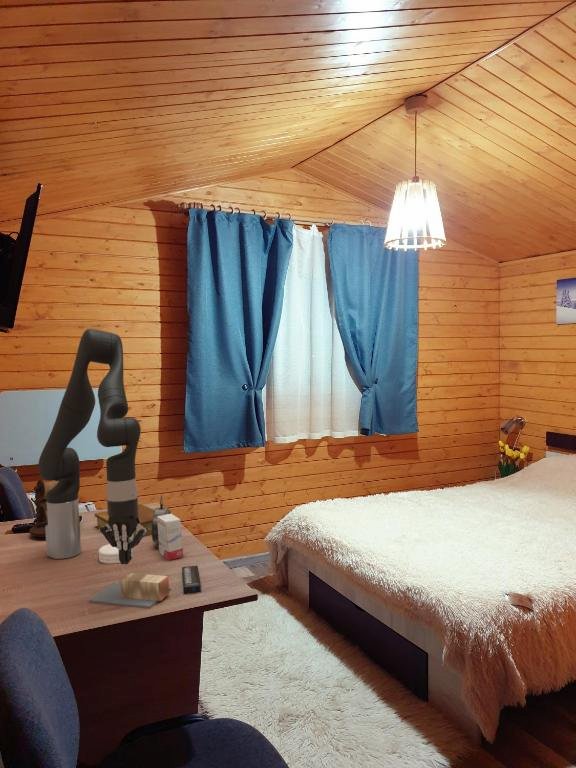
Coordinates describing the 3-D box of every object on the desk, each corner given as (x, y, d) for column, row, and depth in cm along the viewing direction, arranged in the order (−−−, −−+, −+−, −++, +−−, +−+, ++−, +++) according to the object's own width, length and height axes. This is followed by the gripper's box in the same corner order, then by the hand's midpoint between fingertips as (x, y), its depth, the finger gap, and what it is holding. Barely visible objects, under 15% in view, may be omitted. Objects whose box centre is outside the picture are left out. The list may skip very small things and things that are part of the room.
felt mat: (89, 602, 145) (89, 600, 145) (113, 584, 156) (113, 583, 156) (149, 608, 140) (149, 606, 140) (170, 589, 151) (170, 588, 151)
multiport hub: (198, 573, 163) (197, 565, 163) (201, 593, 149) (200, 585, 149) (182, 574, 162) (181, 566, 162) (183, 595, 148) (183, 587, 148)
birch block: (120, 579, 146) (159, 583, 143) (130, 573, 150) (168, 576, 147) (121, 597, 146) (160, 600, 143) (130, 589, 150) (169, 593, 148)
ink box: (183, 557, 175) (182, 519, 174) (167, 561, 172) (165, 522, 171) (173, 549, 182) (172, 512, 181) (158, 553, 179) (156, 515, 179)
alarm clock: (158, 539, 193) (155, 491, 192) (174, 538, 193) (172, 490, 192) (151, 550, 182) (149, 500, 181) (168, 550, 182) (166, 499, 181)
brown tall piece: (62, 525, 213) (59, 471, 212) (83, 532, 203) (80, 476, 202) (22, 535, 202) (18, 479, 201) (42, 544, 192) (38, 484, 191)
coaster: (93, 565, 172) (93, 553, 171) (105, 553, 182) (105, 542, 181) (127, 564, 171) (126, 552, 171) (137, 552, 181) (136, 541, 181)
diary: (171, 532, 203) (171, 515, 202) (120, 544, 191) (119, 527, 191) (143, 517, 220) (142, 503, 220) (95, 528, 209) (94, 512, 208)
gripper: (90, 499, 145) (94, 566, 146) (137, 501, 141) (141, 570, 142) (107, 491, 152) (111, 556, 153) (153, 493, 149) (156, 559, 150)
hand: (125, 563), depth 148 cm, fingers closed
